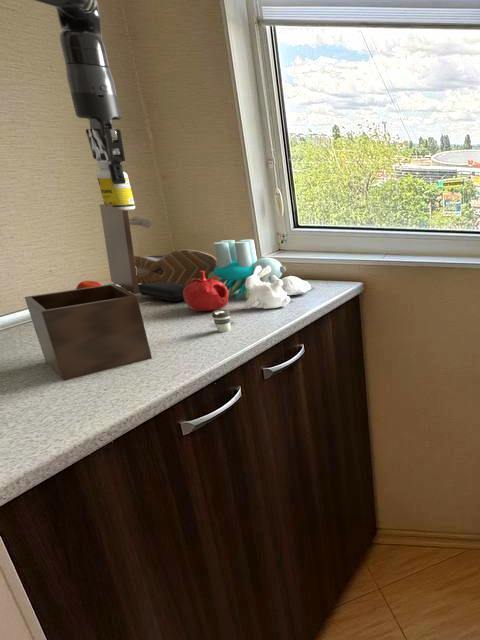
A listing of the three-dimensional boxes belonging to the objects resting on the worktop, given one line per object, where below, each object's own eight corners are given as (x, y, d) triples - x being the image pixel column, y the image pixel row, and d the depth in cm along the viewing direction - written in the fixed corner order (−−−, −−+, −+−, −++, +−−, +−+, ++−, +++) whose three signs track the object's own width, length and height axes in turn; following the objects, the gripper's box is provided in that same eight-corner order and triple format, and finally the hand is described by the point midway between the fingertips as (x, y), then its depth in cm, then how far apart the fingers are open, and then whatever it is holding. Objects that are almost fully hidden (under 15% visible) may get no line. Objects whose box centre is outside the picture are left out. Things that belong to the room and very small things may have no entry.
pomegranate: (185, 316, 120) (176, 277, 117) (188, 305, 129) (179, 268, 125) (231, 311, 124) (224, 273, 121) (231, 301, 133) (224, 265, 129)
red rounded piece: (87, 284, 118) (88, 316, 120) (112, 283, 124) (112, 313, 126) (65, 280, 119) (67, 311, 121) (91, 279, 125) (92, 309, 127)
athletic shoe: (201, 247, 139) (231, 245, 150) (115, 254, 145) (149, 251, 156) (210, 288, 142) (238, 283, 153) (125, 293, 148) (158, 287, 159)
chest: (64, 384, 87) (41, 311, 82) (46, 364, 95) (24, 296, 90) (152, 362, 97) (137, 295, 92) (130, 345, 104) (114, 283, 99)
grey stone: (286, 290, 143) (284, 272, 141) (314, 290, 143) (312, 273, 141) (272, 298, 135) (269, 279, 133) (302, 298, 135) (299, 280, 133)
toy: (290, 237, 141) (297, 291, 146) (208, 238, 139) (218, 293, 144) (278, 243, 130) (286, 301, 135) (188, 245, 128) (200, 303, 133)
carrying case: (170, 279, 143) (209, 286, 138) (171, 290, 144) (210, 297, 139) (133, 283, 134) (172, 290, 129) (134, 295, 135) (173, 302, 129)
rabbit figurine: (237, 309, 126) (230, 270, 122) (250, 301, 133) (243, 263, 129) (287, 309, 126) (281, 270, 122) (297, 301, 133) (291, 263, 129)
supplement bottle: (101, 209, 109) (88, 160, 106) (129, 208, 113) (117, 160, 110) (112, 211, 106) (99, 160, 103) (140, 209, 111) (129, 160, 107)
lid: (122, 210, 87) (158, 210, 91) (99, 204, 94) (133, 205, 98) (133, 293, 91) (167, 290, 95) (111, 281, 99) (143, 279, 103)
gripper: (60, 92, 103) (83, 181, 110) (81, 88, 95) (104, 185, 101) (104, 95, 108) (123, 180, 115) (127, 92, 100) (146, 184, 106)
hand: (114, 182), depth 108 cm, fingers closed on supplement bottle, 5 cm apart
